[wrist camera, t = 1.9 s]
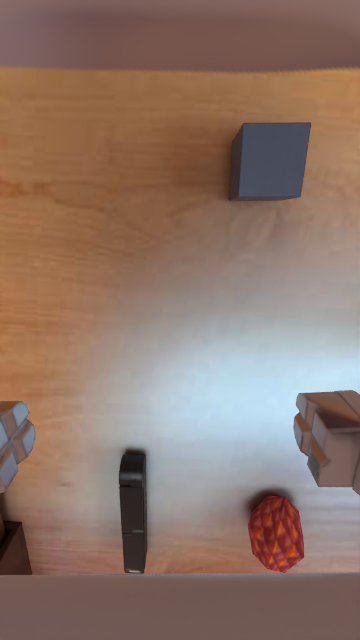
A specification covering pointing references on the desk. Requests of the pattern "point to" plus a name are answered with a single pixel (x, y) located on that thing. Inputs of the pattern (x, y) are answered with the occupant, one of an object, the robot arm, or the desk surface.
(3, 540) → the drawer
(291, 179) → the block
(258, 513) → the decorative stone
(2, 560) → the cabinet
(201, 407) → the desk surface
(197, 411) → the desk surface
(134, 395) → the desk surface
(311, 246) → the desk surface
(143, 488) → the black stapler
